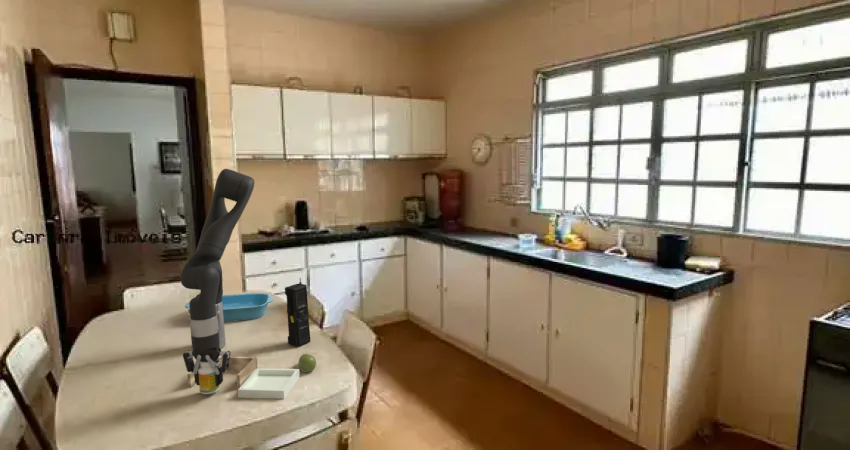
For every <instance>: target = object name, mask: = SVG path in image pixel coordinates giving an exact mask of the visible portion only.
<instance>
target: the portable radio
mask: <svg viewBox="0 0 850 450" xmlns="http://www.w3.org/2000/svg"><path fill="white" fill-rule="evenodd" d="M301 281H302V278H299V283H295V284H292V285H289V286H286V287H284V295H285V297H286V314H287V324H288V325H287V326H288V327H287V328H288V329H287V330H288V336H287V344H288V345H289V346H292V347H296V348H300V347H302V346H304V345H306V344H308V343H310V342H311V341H312V340H311V331H310V329H311V328H310V320H309V319H310V318H309V304H308V288H307V286H308V284H303V283H302V282H301Z"/></svg>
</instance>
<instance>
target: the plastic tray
mask: <svg viewBox="0 0 850 450" xmlns="http://www.w3.org/2000/svg"><path fill="white" fill-rule="evenodd" d="M300 377H301V376H300V369H299V368H263V367H261V368H259V367H257V369H256V370H255V371H254V373H253V374H252V375H251V376H250V377H249V378H248V379H247V380H246V381H245V382H244V384H243V385H242V386H241V387H240V388H239V389H238V388H237V394H238V395H237V396H238V398H243V399H244V398H245V399H247V398H248V399H283V400H284V399H286V397H287V395H288V394H289V393H290V391H291V390H292V388H293V387H294V385H295V384H296V383H297V381H298V379H300Z"/></svg>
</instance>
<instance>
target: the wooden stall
mask: <svg viewBox="0 0 850 450" xmlns="http://www.w3.org/2000/svg"><path fill="white" fill-rule="evenodd" d="M219 359H220V361H221V365H222V359H221V356H219ZM257 368H258V357H256V356H230V362H229V368H228V369H227V370H226V371H230V372H231V371H235V372H236V371H238V374H237V375H236V381H237V390H238V389H239V388H240V387H241V386H242V385H243V384H244V382H245V381H246V380H247V379H248V378H249V377H250V376H251V375H252V374H253V373H254V371H255V370H256V369H257ZM239 371H240V372H239ZM187 383H188V388H189V389H191V388H193V387H194V386H195V385H197V384H196V383H195V378H194V373H193V372H188V373H187Z"/></svg>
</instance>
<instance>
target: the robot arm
mask: <svg viewBox="0 0 850 450" xmlns="http://www.w3.org/2000/svg"><path fill="white" fill-rule="evenodd" d="M254 187H255V179H254V178H253V177H251V176H249V175H246V174H244V173H240V172H238V171H235V170H233V169H230V168H224V169H222V170H221V171H220V173H218V176H217V178H216V182H215V185H214V190H213V194H212V198H211V203H210V207H209V211H208V213H207V215H206V217H205V218H206V219H205V221H204V225H203V227H202V230H201V234H200V236H199V237H200V238H199V241H198V244H197V246H196V249H195V252H194V253H193V254H192V256H191V257H190V259H189V260H188V261H187V263H186V264H185V265H184V267H183V268H182V270H181V274H180V283H181V285H182V286H183V287H184V288H185V289H188V290H189V289H190V290H196V291H197V290H198V291H199V292H200V293H198V294H197V295H195V297H192V298H191V299H190V300H189V302H190V303H189V302H188V303H189V309H190V313H189V317H190V319H189V321H190V323H189V325H190V326H189V330H190V338H191V340H190V341H191V348H192V350H191V349H190V350H189V349H188V350H186V351H185V352H184V353H183V354H182V358H183V360H184V361H183V362H184V364H185V367H186V371H187V372H188V373H190V372H193V373H194V378H195V383H196V384H195V385H196V386H199V375H198V370H199V368H200V367H201V366H200V362H209V364H210V366H211V368H212V369H214V371H215V373H216V374H215V379H216V386H219V387H220V386H221V384H222V383H223V381H224V375H223V374H224V373H225V372H227V371H228V370H227V369H228V368H229V362H230V357H231V355H232V354H231V351H230V350H227V351H223V350H222V348H224V347H225V346H226V344H227V343H226V331H225V322H224V316H223V304H222V295H224V293H223V292H224V291H223V290H224V289H223V287H224V285H223V270H222V265H221V263H220V262H219V261H220V260H221V259H222V257H223V255H224V252H225V250H226V247H227V245H228V244H229V242H230V239H231V237H232V234H233V231H234V230H235V227H236V226H237V224H238V222H239V220H240V218H241V216H242V214H243V213H244V211H245V208H246V207H247V205H248V203H249V201H250V199H251V196H252V193H253V192H254ZM225 199H227V200H230V201H232V202H235V204H234V206H233V207H232V208H231V210H229V211H228V210H227V207H226V201H225ZM219 357H221V359H222V365H221V361H220V359H219ZM194 359H195V361H194ZM214 362H215V363H214Z"/></svg>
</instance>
